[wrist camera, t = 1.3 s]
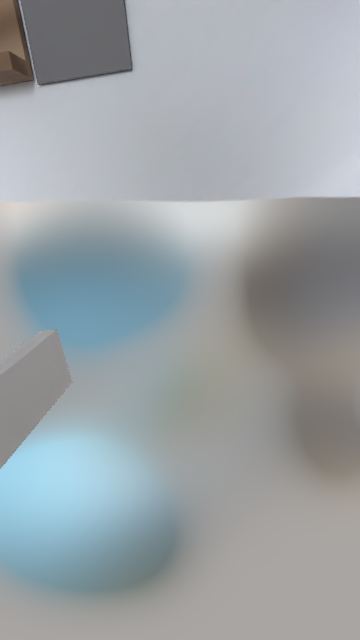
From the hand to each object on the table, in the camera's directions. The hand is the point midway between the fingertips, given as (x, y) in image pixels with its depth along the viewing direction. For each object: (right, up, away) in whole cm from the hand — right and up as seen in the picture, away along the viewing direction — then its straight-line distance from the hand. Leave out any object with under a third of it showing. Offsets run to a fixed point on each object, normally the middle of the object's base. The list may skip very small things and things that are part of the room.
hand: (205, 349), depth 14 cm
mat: (-11, +31, +18) cm, 37 cm away
